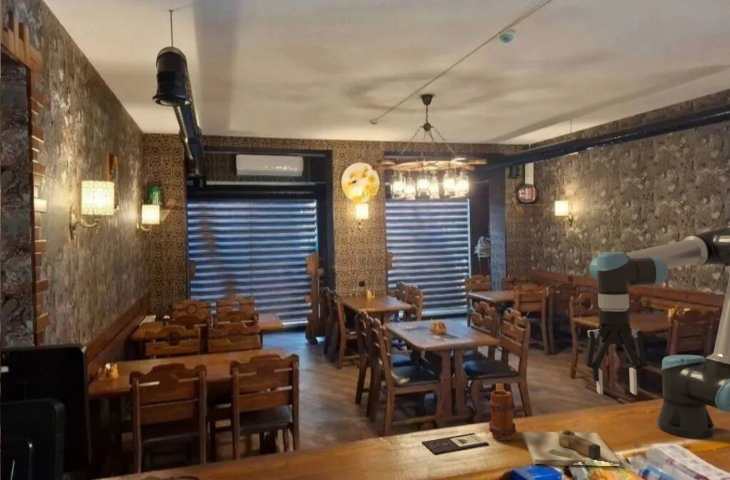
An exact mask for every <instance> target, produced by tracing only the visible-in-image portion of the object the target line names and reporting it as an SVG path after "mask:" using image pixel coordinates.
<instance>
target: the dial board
mask: <svg viewBox="0 0 730 480" xmlns="http://www.w3.org/2000/svg"><path fill="white" fill-rule="evenodd" d="M573 432H574V431H573ZM574 433H575V435H577V436H579V437H581V438H583V439H585V440H588V441H590V442H592V443H594V444H597V445H599V446H600V454H601V457H600V458H596V459H592V458H590V457H589V456H587V455H585V454H583V453H581V452H579V451H576V450H574V449H572V448H570V447H563V446H561V445H559V431H521V436H522V438H523V441H524V443H525V446H526V448H527V450H528V453H529V455H530V457H531V459H532V461H533V464H534V465H535V464H546V465H545V466H566V467H567V466H568V467H569V466H570V467H571V466H572V465H573V464H574V463H578V462H581V463H583V462H585V461H588V460H597V461H604V462H609V463H613V464H619V465H620V466H621V463H620V462H621V460H620V459H618V458H617V456H616V455H615V454H614V452H613V451H612V450H611V449H610V448H609V447H608V445H607V443H605V442H604V440H603V439H602V438H601V436H599V434H598V433H597V432H576V431H575V432H574ZM572 467H573V466H572Z"/></svg>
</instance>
